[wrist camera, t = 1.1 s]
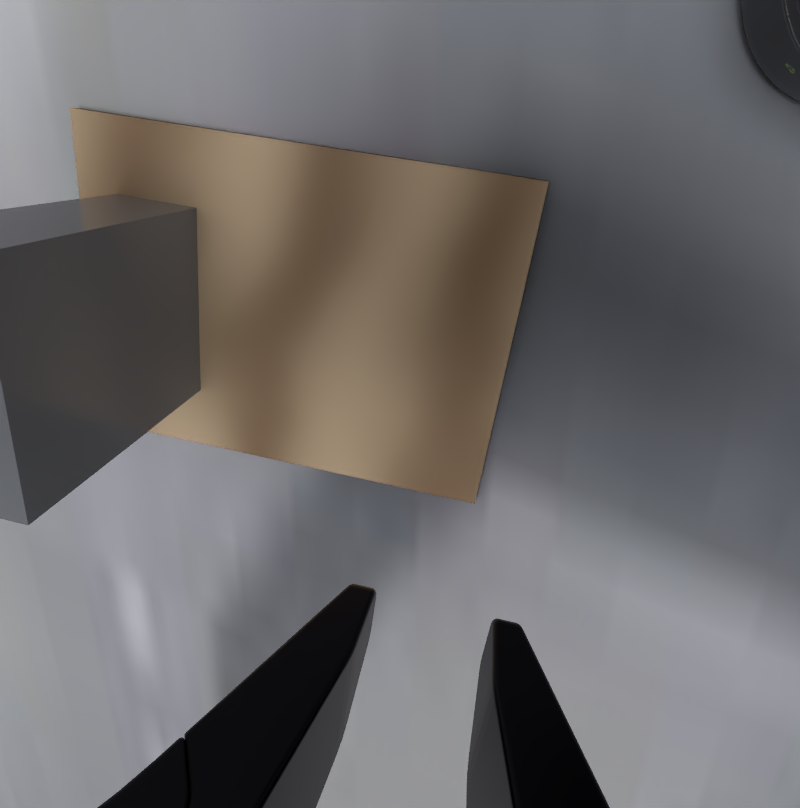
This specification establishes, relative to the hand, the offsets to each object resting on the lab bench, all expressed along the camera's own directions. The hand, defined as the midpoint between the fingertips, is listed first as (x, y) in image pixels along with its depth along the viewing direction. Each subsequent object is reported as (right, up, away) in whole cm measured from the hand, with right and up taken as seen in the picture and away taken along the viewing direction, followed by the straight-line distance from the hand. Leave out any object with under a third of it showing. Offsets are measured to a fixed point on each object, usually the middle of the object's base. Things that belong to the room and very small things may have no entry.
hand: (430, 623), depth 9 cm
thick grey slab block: (-9, +7, +13) cm, 17 cm away
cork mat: (-4, +7, +13) cm, 15 cm away
